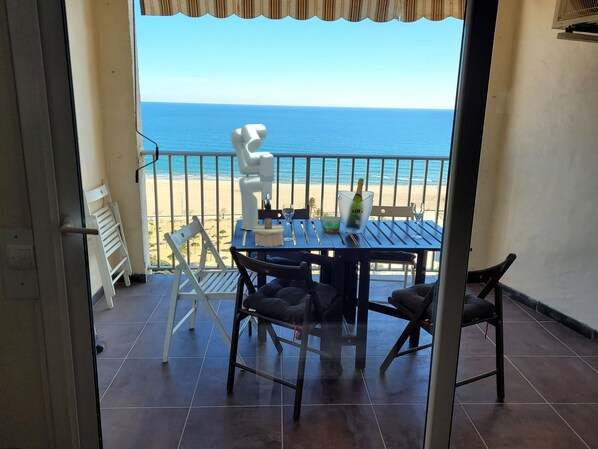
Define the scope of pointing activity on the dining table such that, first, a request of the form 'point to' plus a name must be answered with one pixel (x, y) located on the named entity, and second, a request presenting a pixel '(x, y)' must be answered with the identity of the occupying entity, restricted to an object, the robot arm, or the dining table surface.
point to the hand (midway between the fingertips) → (267, 210)
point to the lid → (268, 228)
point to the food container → (331, 224)
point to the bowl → (268, 239)
